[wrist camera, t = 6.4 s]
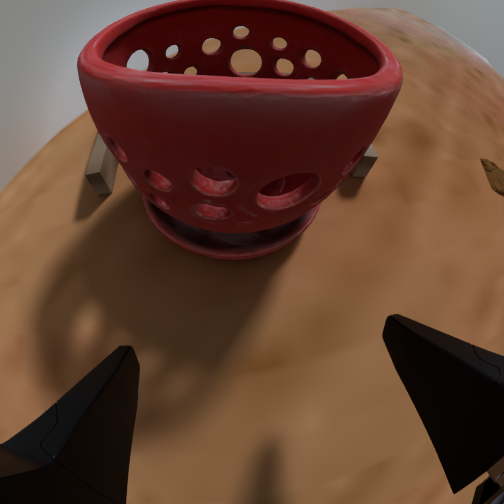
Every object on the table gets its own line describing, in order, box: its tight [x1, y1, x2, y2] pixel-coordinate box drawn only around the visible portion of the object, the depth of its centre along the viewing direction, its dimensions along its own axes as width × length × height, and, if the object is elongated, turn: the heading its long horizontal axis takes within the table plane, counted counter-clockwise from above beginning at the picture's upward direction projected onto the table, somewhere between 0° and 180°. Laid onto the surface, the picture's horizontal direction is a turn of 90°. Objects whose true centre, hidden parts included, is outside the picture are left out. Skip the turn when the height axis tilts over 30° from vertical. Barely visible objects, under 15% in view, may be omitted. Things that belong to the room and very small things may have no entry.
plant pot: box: [77, 0, 403, 260], centre depth 13 cm, size 13×13×12 cm
